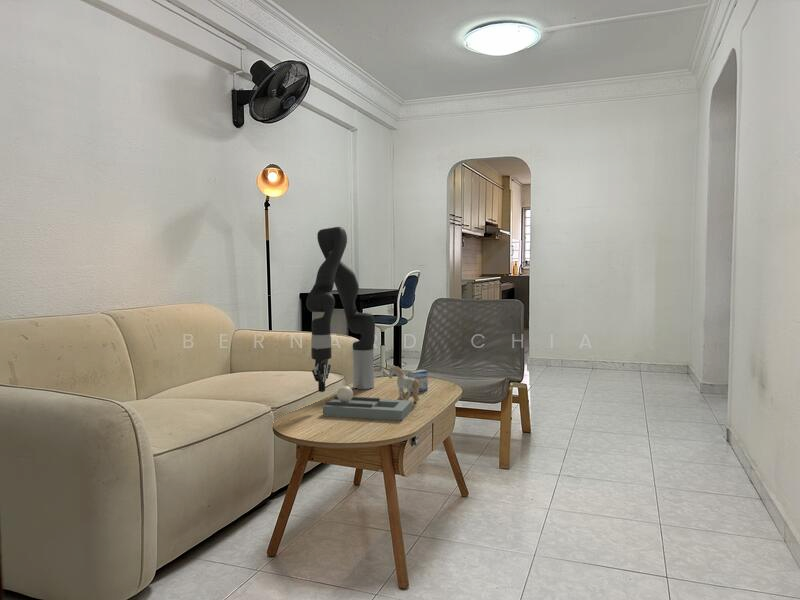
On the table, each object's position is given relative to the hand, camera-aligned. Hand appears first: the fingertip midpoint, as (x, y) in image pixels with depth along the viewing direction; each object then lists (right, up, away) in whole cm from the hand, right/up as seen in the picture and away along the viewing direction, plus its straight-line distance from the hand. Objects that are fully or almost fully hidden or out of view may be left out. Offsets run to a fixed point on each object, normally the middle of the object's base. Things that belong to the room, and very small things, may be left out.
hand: (321, 391), depth 221 cm
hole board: (+18, -7, -4) cm, 20 cm away
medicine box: (+37, -5, +31) cm, 49 cm away
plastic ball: (+9, -1, -2) cm, 9 cm away
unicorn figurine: (+29, -6, +13) cm, 33 cm away
